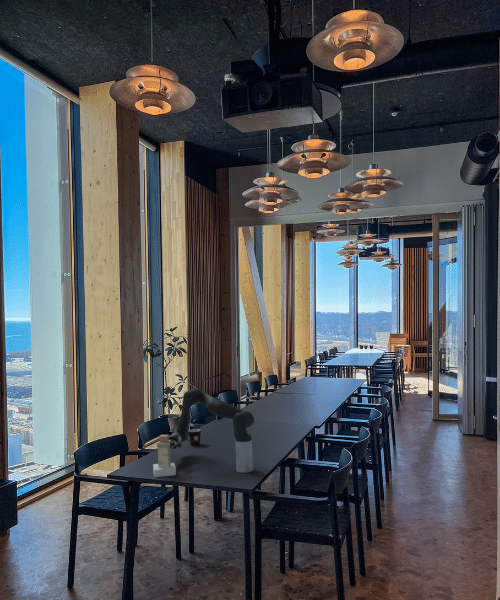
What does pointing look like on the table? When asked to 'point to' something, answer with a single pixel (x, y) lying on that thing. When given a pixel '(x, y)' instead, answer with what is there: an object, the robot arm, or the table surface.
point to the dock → (164, 470)
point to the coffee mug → (194, 437)
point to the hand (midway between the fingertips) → (166, 447)
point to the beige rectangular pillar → (164, 454)
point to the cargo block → (163, 438)
